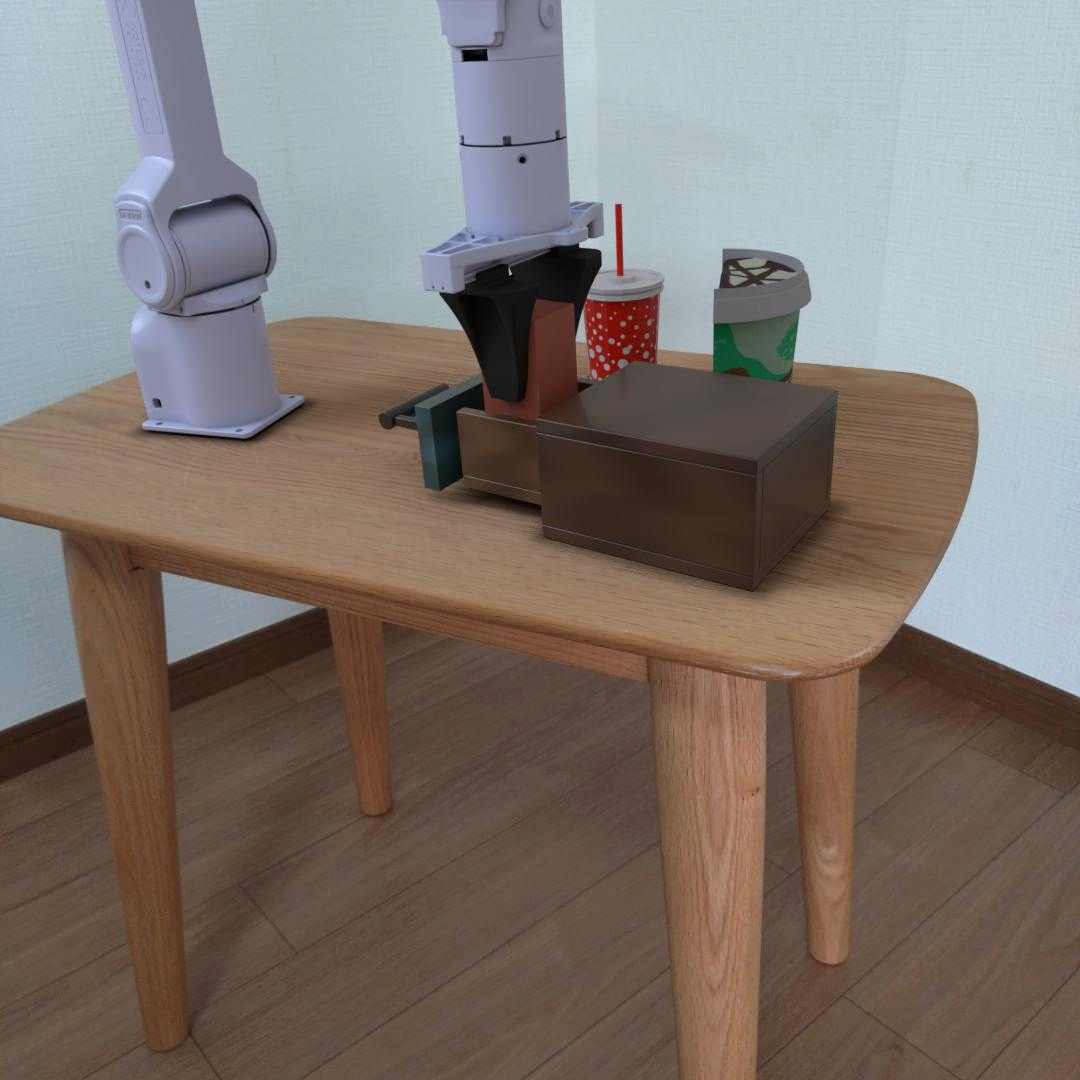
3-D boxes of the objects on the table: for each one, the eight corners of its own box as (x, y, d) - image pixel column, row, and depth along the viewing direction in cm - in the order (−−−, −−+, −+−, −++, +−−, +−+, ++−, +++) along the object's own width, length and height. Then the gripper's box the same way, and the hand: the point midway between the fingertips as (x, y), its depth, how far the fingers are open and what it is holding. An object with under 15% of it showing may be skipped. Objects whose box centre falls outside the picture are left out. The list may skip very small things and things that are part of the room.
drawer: (366, 473, 65) (353, 393, 63) (458, 423, 72) (450, 349, 70) (585, 528, 57) (581, 437, 54) (667, 465, 63) (666, 383, 61)
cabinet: (542, 537, 58) (534, 418, 55) (636, 468, 66) (634, 360, 62) (752, 591, 51) (757, 460, 48) (830, 508, 59) (838, 389, 56)
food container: (806, 443, 67) (816, 290, 63) (711, 441, 69) (713, 291, 64) (803, 380, 78) (810, 245, 73) (720, 379, 79) (722, 246, 75)
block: (485, 414, 61) (476, 314, 58) (524, 393, 64) (517, 296, 61) (541, 425, 59) (534, 321, 56) (578, 402, 62) (574, 303, 59)
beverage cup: (668, 412, 74) (666, 210, 67) (582, 416, 74) (572, 215, 68) (662, 384, 79) (661, 193, 73) (582, 387, 80) (573, 199, 73)
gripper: (491, 162, 47) (513, 439, 54) (647, 122, 58) (650, 358, 64) (376, 159, 51) (409, 418, 57) (542, 122, 61) (555, 345, 68)
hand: (529, 386), depth 61 cm, fingers closed on block, 4 cm apart
